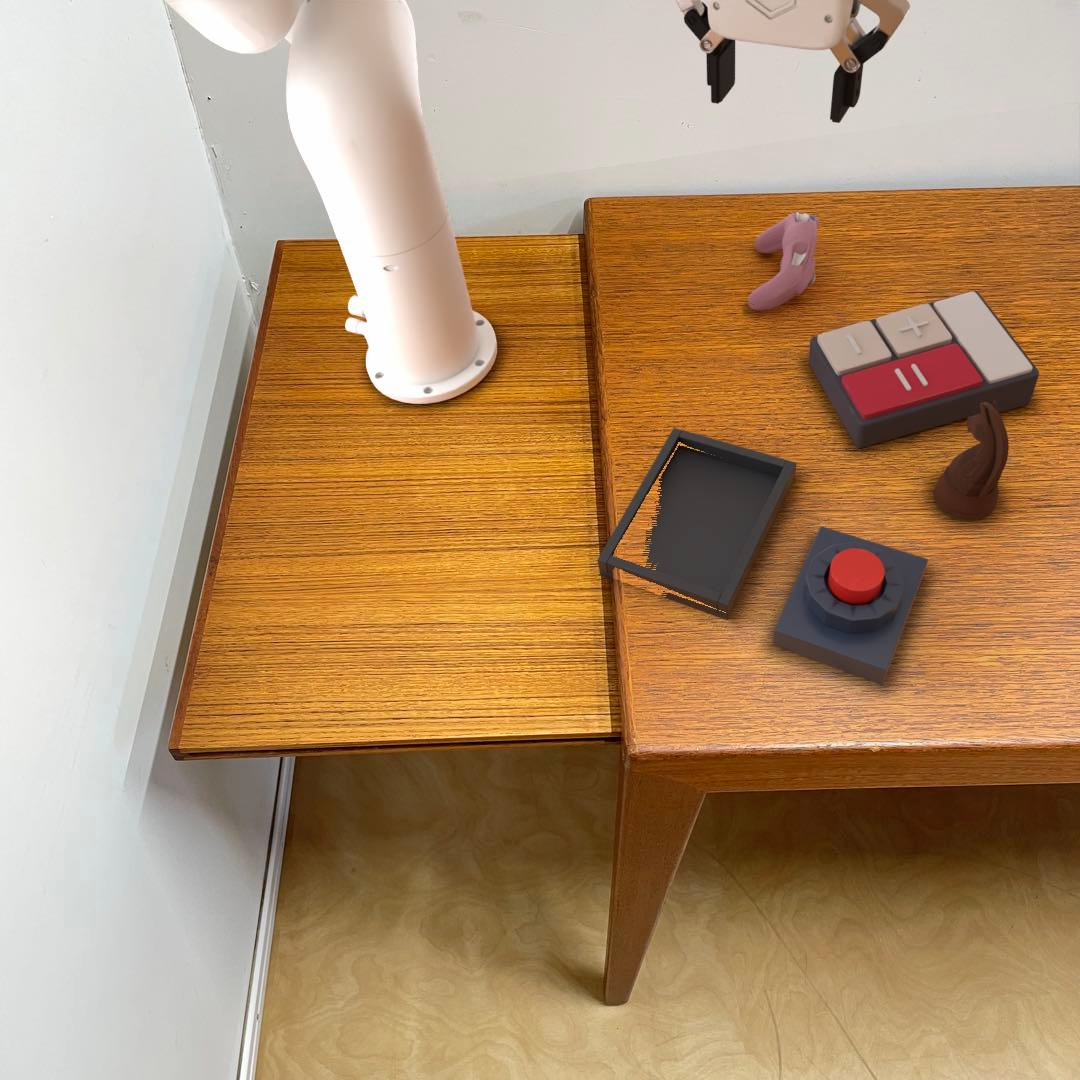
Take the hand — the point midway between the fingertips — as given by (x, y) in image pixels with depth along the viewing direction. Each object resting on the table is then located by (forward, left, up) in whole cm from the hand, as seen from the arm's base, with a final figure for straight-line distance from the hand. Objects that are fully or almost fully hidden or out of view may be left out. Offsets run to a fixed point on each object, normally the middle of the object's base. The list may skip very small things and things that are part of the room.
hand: (780, 103), depth 77 cm
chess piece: (+22, -17, -20) cm, 34 cm away
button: (+17, -30, -16) cm, 38 cm away
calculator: (+15, -6, -20) cm, 26 cm away
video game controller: (0, +3, -20) cm, 20 cm away
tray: (+4, -27, -20) cm, 34 cm away
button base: (+17, -30, -20) cm, 40 cm away
